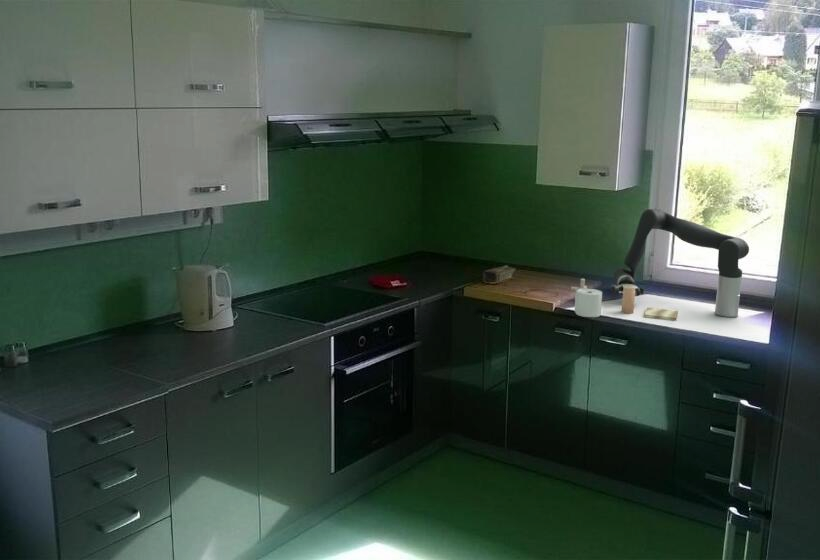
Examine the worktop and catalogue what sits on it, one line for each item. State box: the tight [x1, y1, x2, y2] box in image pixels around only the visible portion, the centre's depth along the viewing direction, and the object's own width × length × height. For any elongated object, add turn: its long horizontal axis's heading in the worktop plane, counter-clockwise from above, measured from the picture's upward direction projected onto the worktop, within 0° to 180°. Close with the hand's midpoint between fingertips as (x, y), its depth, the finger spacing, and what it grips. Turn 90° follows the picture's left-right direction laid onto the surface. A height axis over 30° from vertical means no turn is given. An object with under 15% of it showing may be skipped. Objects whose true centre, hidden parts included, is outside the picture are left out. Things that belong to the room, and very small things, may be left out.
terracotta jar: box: [621, 284, 637, 315], centre depth 352 cm, size 5×5×12 cm
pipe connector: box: [570, 278, 588, 292], centre depth 371 cm, size 10×10×10 cm
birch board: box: [643, 307, 679, 321], centre depth 349 cm, size 13×12×1 cm
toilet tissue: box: [574, 288, 603, 318], centre depth 349 cm, size 11×12×10 cm
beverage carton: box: [482, 265, 517, 282], centre depth 406 cm, size 8×19×7 cm, turn 141°
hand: (627, 293), depth 358 cm, fingers open, 8 cm apart
